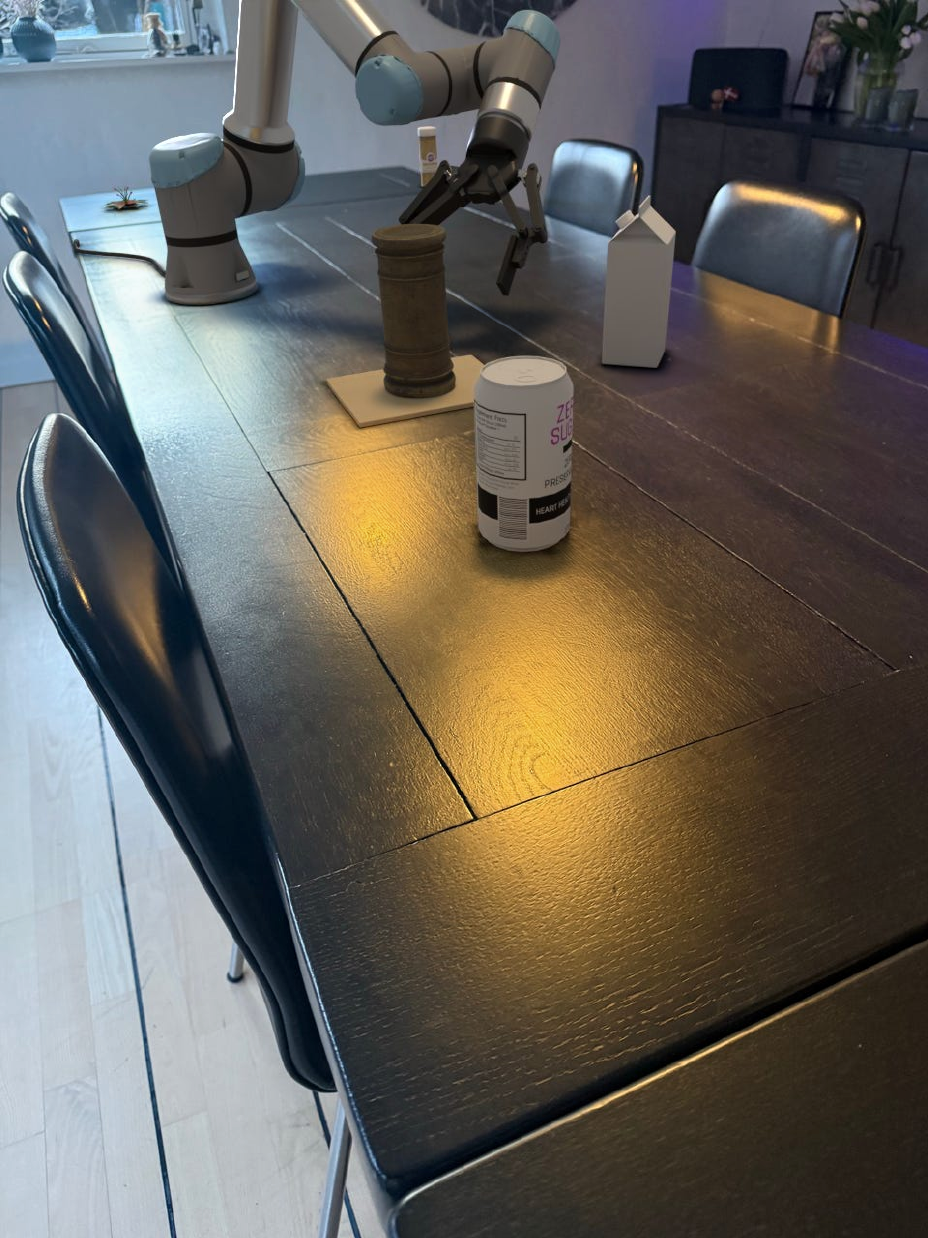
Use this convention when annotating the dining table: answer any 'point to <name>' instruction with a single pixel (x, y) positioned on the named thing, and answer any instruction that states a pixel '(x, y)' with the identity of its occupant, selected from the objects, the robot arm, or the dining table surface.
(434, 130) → the sprinkles bottle
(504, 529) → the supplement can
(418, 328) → the container
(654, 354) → the milk carton
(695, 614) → the dining table surface
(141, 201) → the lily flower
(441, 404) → the mat
